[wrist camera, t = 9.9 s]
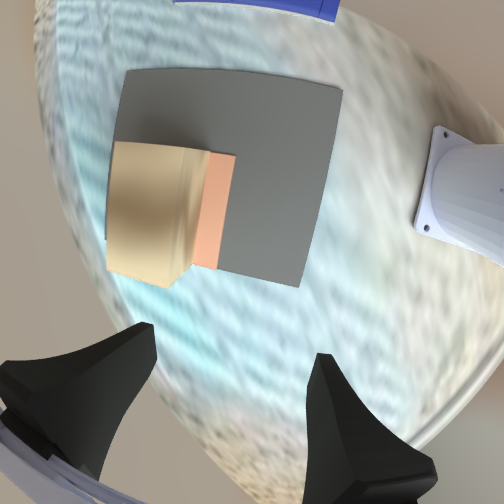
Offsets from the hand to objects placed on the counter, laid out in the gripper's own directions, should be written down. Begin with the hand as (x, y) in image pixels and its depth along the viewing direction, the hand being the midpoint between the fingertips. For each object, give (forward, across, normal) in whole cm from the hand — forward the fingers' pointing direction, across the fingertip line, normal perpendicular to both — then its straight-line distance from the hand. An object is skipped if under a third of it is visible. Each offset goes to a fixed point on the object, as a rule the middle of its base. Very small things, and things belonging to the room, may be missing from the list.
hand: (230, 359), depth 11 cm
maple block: (+9, +7, -5) cm, 12 cm away
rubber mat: (+9, +4, -7) cm, 13 cm away
